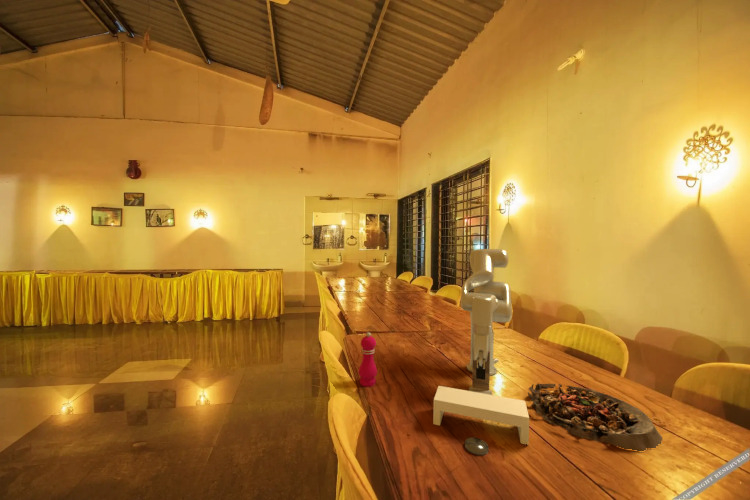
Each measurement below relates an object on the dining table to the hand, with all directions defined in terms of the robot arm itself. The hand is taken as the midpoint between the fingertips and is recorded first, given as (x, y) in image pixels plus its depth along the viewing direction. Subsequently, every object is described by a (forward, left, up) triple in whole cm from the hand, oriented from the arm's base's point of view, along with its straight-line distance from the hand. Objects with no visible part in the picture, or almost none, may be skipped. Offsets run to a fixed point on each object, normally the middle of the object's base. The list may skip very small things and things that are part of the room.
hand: (480, 373), depth 115 cm
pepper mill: (+34, -28, -6) cm, 44 cm away
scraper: (+7, +5, -6) cm, 10 cm away
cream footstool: (+20, +14, -6) cm, 26 cm away
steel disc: (+30, +21, -6) cm, 37 cm away
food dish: (-14, +31, -7) cm, 34 cm away
